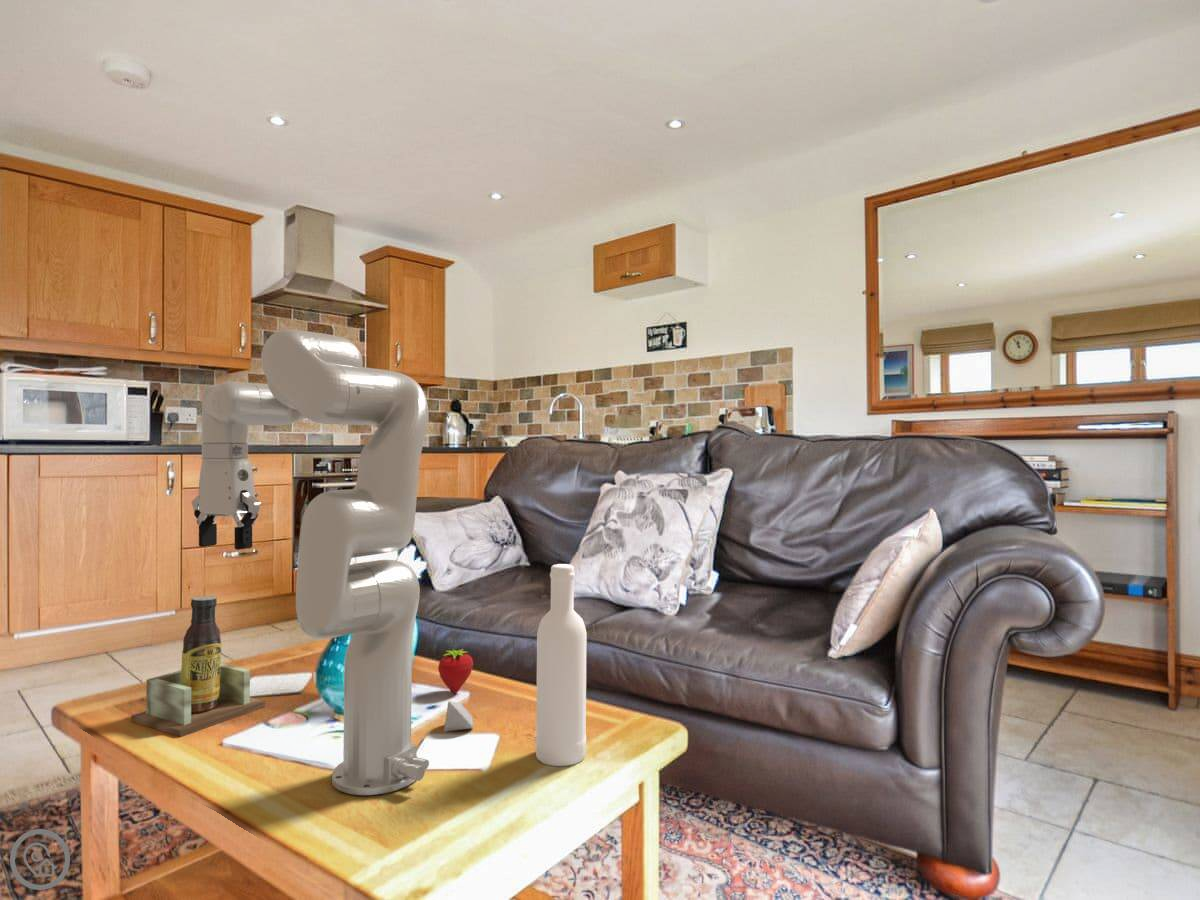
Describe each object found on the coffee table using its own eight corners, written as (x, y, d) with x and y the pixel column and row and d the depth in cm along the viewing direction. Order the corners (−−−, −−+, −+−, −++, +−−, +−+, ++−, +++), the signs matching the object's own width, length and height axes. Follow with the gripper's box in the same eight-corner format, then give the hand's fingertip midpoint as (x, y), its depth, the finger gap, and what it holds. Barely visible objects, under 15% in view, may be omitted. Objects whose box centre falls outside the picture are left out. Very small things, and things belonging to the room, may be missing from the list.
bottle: (595, 753, 114) (597, 564, 114) (566, 771, 108) (567, 571, 108) (556, 741, 119) (557, 560, 119) (525, 758, 112) (526, 566, 112)
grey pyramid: (426, 713, 124) (448, 691, 126) (445, 733, 127) (467, 712, 129) (441, 729, 119) (464, 706, 121) (461, 751, 122) (483, 728, 124)
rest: (265, 706, 134) (265, 668, 134) (180, 736, 119) (180, 694, 119) (216, 694, 140) (217, 658, 140) (131, 721, 126) (131, 681, 126)
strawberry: (480, 690, 143) (480, 640, 143) (452, 701, 137) (452, 649, 137) (458, 685, 147) (459, 636, 147) (430, 695, 141) (431, 644, 141)
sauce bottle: (189, 717, 125) (190, 603, 125) (173, 709, 129) (174, 598, 129) (227, 706, 131) (228, 597, 130) (211, 699, 134) (211, 593, 134)
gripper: (275, 453, 131) (275, 547, 131) (213, 453, 139) (213, 542, 139) (238, 453, 125) (239, 552, 124) (175, 453, 132) (175, 547, 132)
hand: (225, 547), depth 132 cm, fingers open, 9 cm apart
